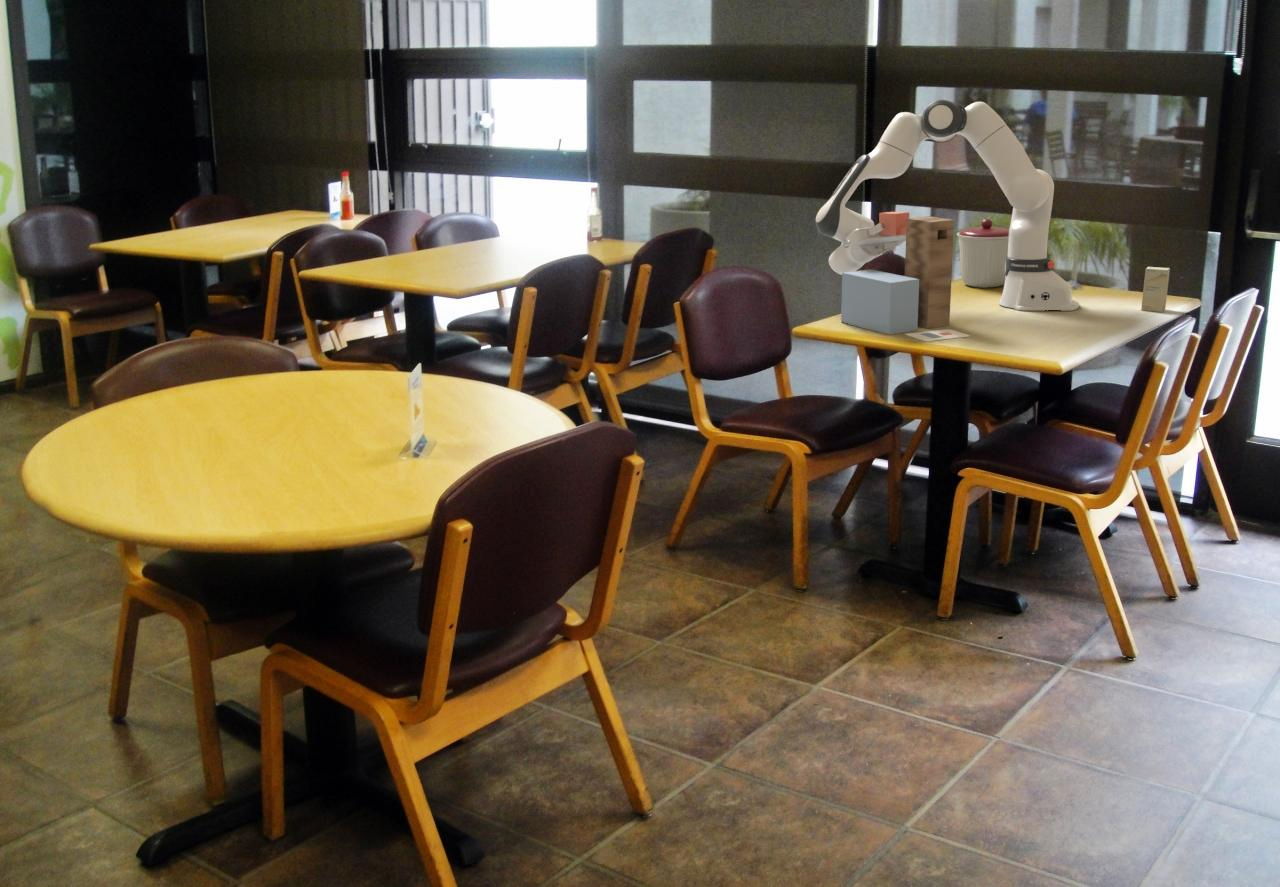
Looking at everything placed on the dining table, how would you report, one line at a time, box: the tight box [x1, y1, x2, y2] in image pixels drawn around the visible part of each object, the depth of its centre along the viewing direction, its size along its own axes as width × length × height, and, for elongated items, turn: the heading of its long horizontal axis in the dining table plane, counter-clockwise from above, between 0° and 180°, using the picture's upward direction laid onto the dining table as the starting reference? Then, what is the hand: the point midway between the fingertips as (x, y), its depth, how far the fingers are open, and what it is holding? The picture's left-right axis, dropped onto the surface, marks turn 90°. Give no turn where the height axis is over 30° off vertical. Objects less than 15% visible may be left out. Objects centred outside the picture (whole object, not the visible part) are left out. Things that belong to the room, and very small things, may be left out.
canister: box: [956, 218, 1009, 288], centre depth 436 cm, size 18×18×21 cm
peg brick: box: [878, 211, 910, 235], centre depth 381 cm, size 19×5×6 cm, turn 30°
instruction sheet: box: [904, 328, 971, 342], centre depth 367 cm, size 10×14×1 cm
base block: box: [840, 269, 919, 335], centre depth 378 cm, size 20×10×14 cm, turn 30°
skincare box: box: [1140, 266, 1171, 313], centre depth 393 cm, size 6×4×12 cm
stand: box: [904, 215, 955, 329], centre depth 377 cm, size 10×8×29 cm
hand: (895, 224), depth 386 cm, fingers open, 8 cm apart
